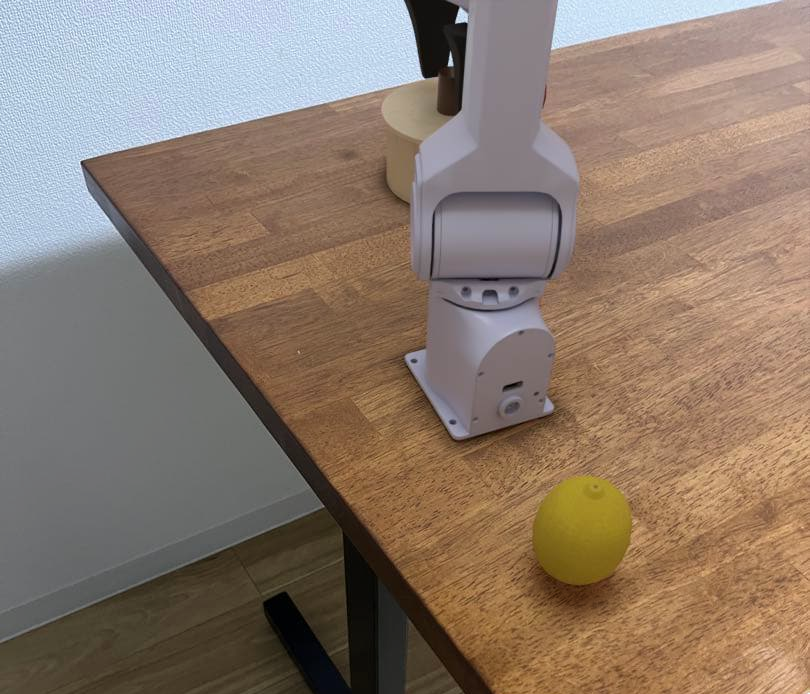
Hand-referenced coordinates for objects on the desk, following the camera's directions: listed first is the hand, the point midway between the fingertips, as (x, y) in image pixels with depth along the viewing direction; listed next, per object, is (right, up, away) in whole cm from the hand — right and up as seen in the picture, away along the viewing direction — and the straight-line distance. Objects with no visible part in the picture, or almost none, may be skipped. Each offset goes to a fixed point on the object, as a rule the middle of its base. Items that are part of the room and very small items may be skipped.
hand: (451, 94), depth 72 cm
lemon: (+6, -42, -22) cm, 47 cm away
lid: (0, -1, +1) cm, 2 cm away
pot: (0, -5, +6) cm, 8 cm away
